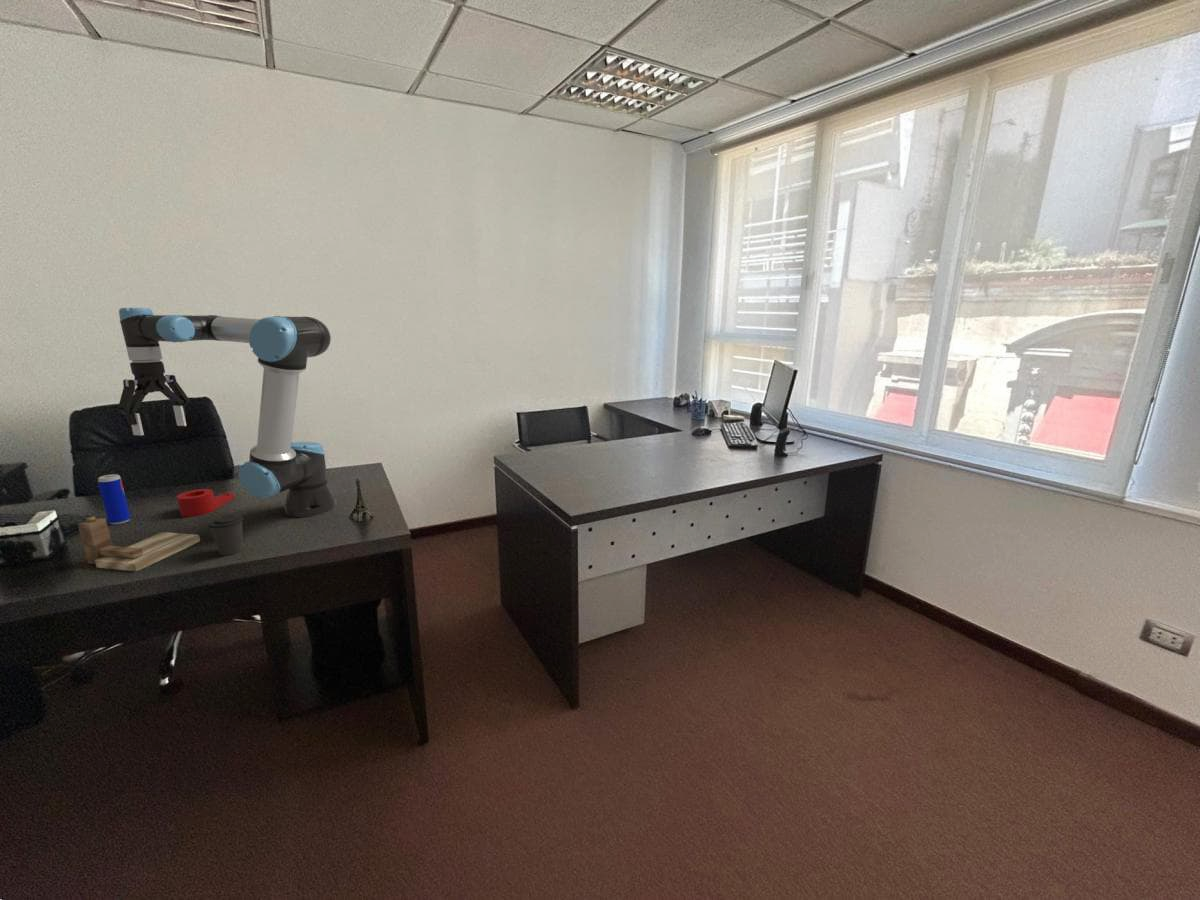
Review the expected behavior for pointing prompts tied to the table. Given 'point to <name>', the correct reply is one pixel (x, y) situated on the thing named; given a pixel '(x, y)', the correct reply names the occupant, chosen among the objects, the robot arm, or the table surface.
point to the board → (150, 551)
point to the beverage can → (114, 499)
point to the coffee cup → (227, 534)
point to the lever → (200, 502)
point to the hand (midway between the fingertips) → (161, 430)
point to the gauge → (102, 541)
